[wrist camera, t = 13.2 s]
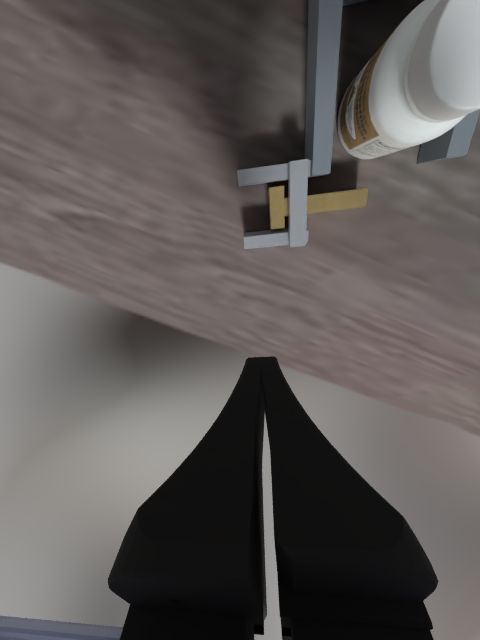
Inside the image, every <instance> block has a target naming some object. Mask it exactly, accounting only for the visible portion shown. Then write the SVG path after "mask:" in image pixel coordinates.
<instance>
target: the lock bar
mask: <svg viewBox="0 0 480 640" xmlns="http://www.w3.org/2000/svg"><path fill="white" fill-rule="evenodd" d="M368 189H369V188H364V189H352V190H344V191H335V192H327V193H319V194H311V195H307V213H316V212H325V211H334V210H342V209H351V208H360V207H366V203H367V196H368ZM268 201H269V224H270V228H271V229H277V228H285V218H284V216H288V197H287V198H284V186H278V187H270V188H268Z"/></svg>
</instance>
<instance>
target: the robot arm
mask: <svg viewBox="0 0 480 640" xmlns="http://www.w3.org/2000/svg"><path fill="white" fill-rule="evenodd" d="M264 414H265V415H266V423H267V430H268V437H269V444H270V453H271V474H272V493H273V494H272V495H273V517H274V539H275V550H276V561H277V572H278V588H279V589H278V590H279V608H280V617H281V627H282V639H283V640H433V637H432V635H431V632H430V630H431V629H433V626H432V622H431V620H430V617H429V615H428V612H427V610H426V607H425V605H424V603H423V600H424V599H426V598H427V597H428V596H429V595H430V594H431V593H432V592H434V590H435V589H436V587H437V584H438V579H437V577H436V574H435V572H434V570H433V568H432V565H431V563H430V561H429V559H428V557H427V555H426V553H425V552H424V550H423V548H422V546H421V545H420V543H419V541H418V540H417V538H416V536H415V534H414V533H413V531H412V529H411V528H410V526H409V525H408V523H407V521H406V520H405V519H404V517H403V516H402V515H401V514H400V513H399V512H398V511H397V510H396V509H395V508H394V507H392V506H391V505H390V504H389V503H388V502H387V501H386V500H385V499H384V498H383V497H382V496H381V495H380V494H379V493H378V492H377V491H375V490H374V489H373V488H372V487H371V486H370V485H369V484H368V483H367V482H366V481H365V480H364V479H363V478H362V477H361V476H360V475H359V474H358V473H357V472H356V471H355V470H354V469H353V468H352V467H351V465H350V464H349V463H348V462H347V461H346V460H345V459H344V458H343V457H342V456H341V454H340V453H339V452H338V451H337V450H336V449H335V448H334V447H333V446H332V445H331V443H330V442H329V441H328V440H327V439H326V438H325V436H324V435H323V434H322V433H321V431H320V430H319V429H318V428H317V426H316V425H315V424H314V423H313V421H312V420H311V419H310V417H309V416H308V415H307V413H306V412H305V410H304V409H303V407H302V406H301V404H300V403H299V401H298V400H297V398H296V397H295V395H294V393H293V392H292V390H291V388H290V387H289V385H288V383H287V381H286V379H285V378H284V375H283V373H282V371H281V369H280V367H279V364H278V361H277V358H276V357H254V358H248V359H246V362H245V365H244V368H243V371H242V373H241V375H240V378H239V380H238V382H237V384H236V386H235V388H234V390H233V392H232V394H231V396H230V398H229V399H228V401H227V403H226V405H225V406H224V408H223V410H222V411H221V413H220V414H219V416H218V418H217V419H216V421H215V422H214V423H213V425H212V426H211V428H210V429H209V431H208V432H207V433H206V434H205V436H204V437H203V439H202V440H201V441H200V442H199V444H198V445H197V446H196V448H195V449H194V450H193V451H192V453H191V454H190V455H189V456H188V457H187V458H186V459H185V460H184V461H183V463H182V464H181V465H180V466H179V467H178V468H177V469H176V471H175V472H174V473H173V474H172V475H171V476H170V477H169V478H168V479H167V480H166V481H165V482H164V483H163V484H162V485H161V486H160V487H159V488H158V489H157V490H156V491H155V492H154V493H153V494H152V495H151V496H150V497H149V498H148V499H147V500H146V501H145V502H144V503H143V504H142V505H141V506H140V507H139V508H138V510H137V512H136V514H135V516H134V518H133V520H132V522H131V524H130V526H129V528H128V530H127V532H126V535H125V537H124V539H123V541H122V544H121V547H120V549H119V552H118V555H117V557H116V560H115V562H114V565H113V568H112V570H111V573H110V575H109V578H108V585H109V588H110V589H111V590H112V591H113V592H114V593H115V594H116V595H118V596H119V597H121V598H122V599H124V600H125V601H126V602H128V603H129V604H130V607H129V611H128V614H127V617H126V620H125V624H124V627H113V626H101V625H92V624H81V623H71V622H59V621H50V620H39V619H28V618H18V617H7V616H0V640H254V634H259V635H264V619H265V618H266V616H267V604H266V578H265V549H264V523H263V487H262V452H263V434H264Z"/></svg>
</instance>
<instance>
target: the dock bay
mask: <svg viewBox="0 0 480 640" xmlns="http://www.w3.org/2000/svg"><path fill="white" fill-rule="evenodd" d="M365 1H369V0H309V2H308V42H307V82H306V123H305V159H303V160H296V161H290V162H289V163H285V164H278V165H271V166H264V167H257V168H250V169H243V170H237V176H238V186H240V187H243V186H250V185H258V184H265V183H273V182H281V181H288V224H289V228H283V229H274V230H265V231H256V232H246V233H245V234H244V247H245V249H251V248H261V247H271V246H281V245H289V246H290V247H297V246H306V243H308V230H307V229H306V220H307V189H308V178H311V177H318V176H323V175H326V174H330V171H331V157H332V143H333V130H334V116H335V102H336V88H337V75H338V61H339V47H340V33H341V20H342V6H346V5H350V4H355V3H360V2H365ZM479 113H480V109H478V110H476V111H474V112H472V113H469V114H467V115H466V116H465V117H464V118H463V119H462V120H461V121H460V122H459V123H457V124H456V125H455V126H454V127H453V128H451V129H450V130H449V131H447V132H445V133H444V134H442V135H441V136H439V137H437V138H435V139H433V140H430V141H428V142H425V143H422V144H421V147H420V152H419V156H418V160H417V163H425V162H432V161H438V160H443V159H449V158H454V157H460V156H465V155H467V152H468V149H469V145H470V142H471V139H472V136H473V133H474V129H475V126H476V123H477V120H478V117H479Z"/></svg>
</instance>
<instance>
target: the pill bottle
mask: <svg viewBox="0 0 480 640" xmlns="http://www.w3.org/2000/svg"><path fill="white" fill-rule="evenodd" d="M478 109H480V0H424V1H423V2H422V3H420V4H419V5H418V6H417V7H416V8H414V9H413V10H412V11H411V12H410V13H409V15H408V16H407V17H406V18H405V19H404V20H403V21H402V22H401V23H400V24H399V26H398V27H397V28H396V29H395V30H394V32H393V33H392V34H391V35H390V36H389V37H388V39H387V40H386V41H385V42H384V43H383V44H382V45H381V47H380V48H379V49H378V50H377V52H376V53H375V54H374V55H373V56H372V58H371V59H370V60H369V61H368V62H367V64H366V65H365V66H364V67H363V69H362V70H361V71H360V72H359V74H358V75H357V76H356V77H355V78H354V79H353V81H352V82H351V84H350V85H349V87H348V88H347V90H346V92H345V94H344V97H343V99H342V102H341V105H340V109H339V113H338V134H339V138H340V141H341V143H342V145H343V147H344V148H345V150H346V151H347V152H348V153H349V154H351V155H352V156H354V157H357V158H360V159H372V158H376V157H380V156H384V155H387V154H390V153H393V152H396V151H399V150H403V149H406V148H409V147H412V146H416V145H419V144H422V143H425V142H428V141H430V140H433V139H435V138H437V137H439V136H441V135H442V134H444V133H445V132H447V131H449V130H450V129H451V128H453V127H454V126H455V125H456V124H457V123H459V122H460V121H461V120H462V119H463V118H464V117H465V116H466V115H467V114H469V113H472V112H474V111H476V110H478Z"/></svg>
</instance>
